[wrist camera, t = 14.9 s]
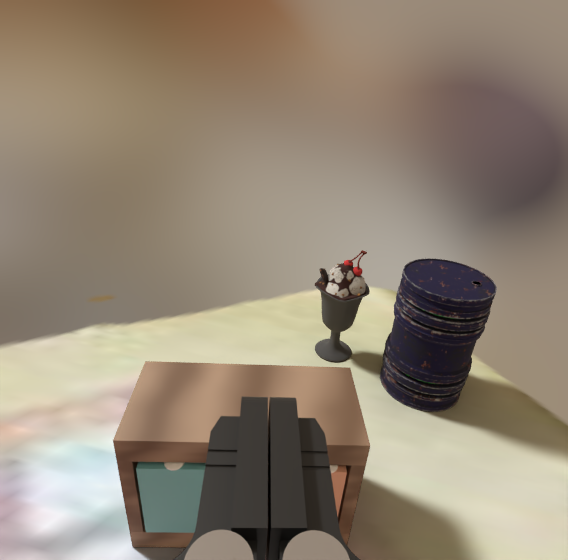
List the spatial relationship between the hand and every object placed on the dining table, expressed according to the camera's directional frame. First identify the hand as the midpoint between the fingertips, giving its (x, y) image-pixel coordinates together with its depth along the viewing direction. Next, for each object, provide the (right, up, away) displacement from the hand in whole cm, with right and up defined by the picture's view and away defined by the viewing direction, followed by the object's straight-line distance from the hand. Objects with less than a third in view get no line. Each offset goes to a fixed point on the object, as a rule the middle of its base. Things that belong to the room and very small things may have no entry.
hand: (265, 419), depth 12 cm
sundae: (+7, -6, +45) cm, 46 cm away
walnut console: (-3, -16, +25) cm, 30 cm away
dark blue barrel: (+17, -9, +41) cm, 45 cm away
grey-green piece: (-8, -14, +23) cm, 28 cm away
